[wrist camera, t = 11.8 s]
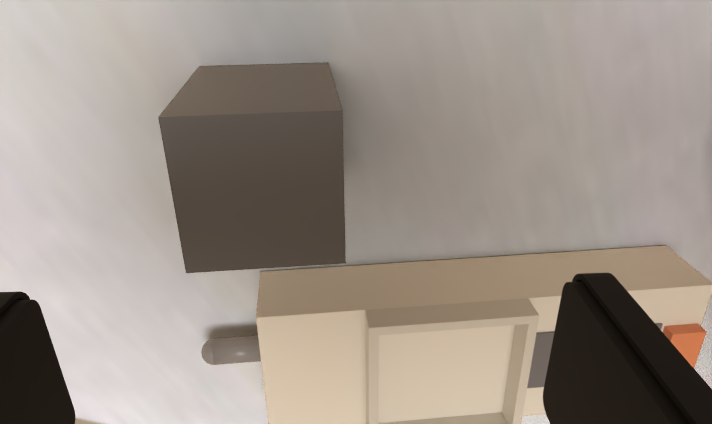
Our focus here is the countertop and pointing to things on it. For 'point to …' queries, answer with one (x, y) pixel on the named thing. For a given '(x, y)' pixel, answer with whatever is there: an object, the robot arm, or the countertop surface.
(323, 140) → the block
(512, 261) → the power strip
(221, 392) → the countertop surface
